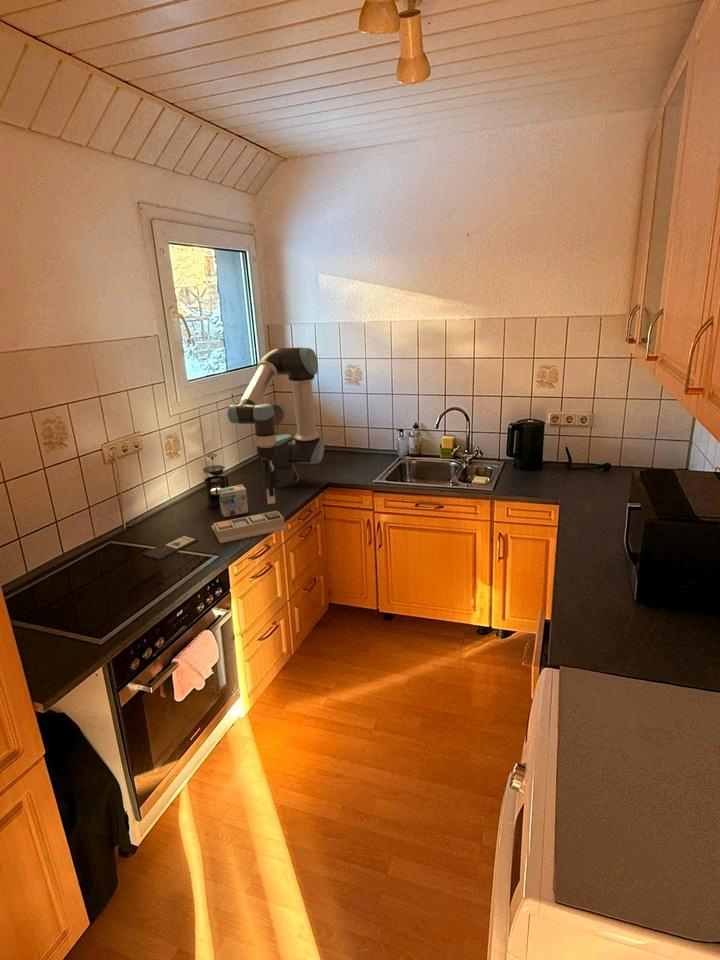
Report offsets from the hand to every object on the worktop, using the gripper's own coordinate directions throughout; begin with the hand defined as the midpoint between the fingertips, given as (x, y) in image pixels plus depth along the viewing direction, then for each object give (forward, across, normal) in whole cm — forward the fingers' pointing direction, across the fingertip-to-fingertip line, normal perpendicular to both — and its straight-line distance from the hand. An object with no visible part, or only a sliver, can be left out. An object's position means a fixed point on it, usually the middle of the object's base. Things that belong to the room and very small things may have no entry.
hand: (271, 502), depth 221 cm
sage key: (+7, 0, -6) cm, 9 cm away
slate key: (+8, 0, -13) cm, 15 cm away
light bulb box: (+10, -22, -11) cm, 26 cm away
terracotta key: (+7, 0, -19) cm, 20 cm away
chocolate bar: (+11, +1, -40) cm, 41 cm away
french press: (+10, -35, -15) cm, 39 cm away
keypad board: (+10, -2, -10) cm, 14 cm away
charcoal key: (+7, 0, 0) cm, 7 cm away
